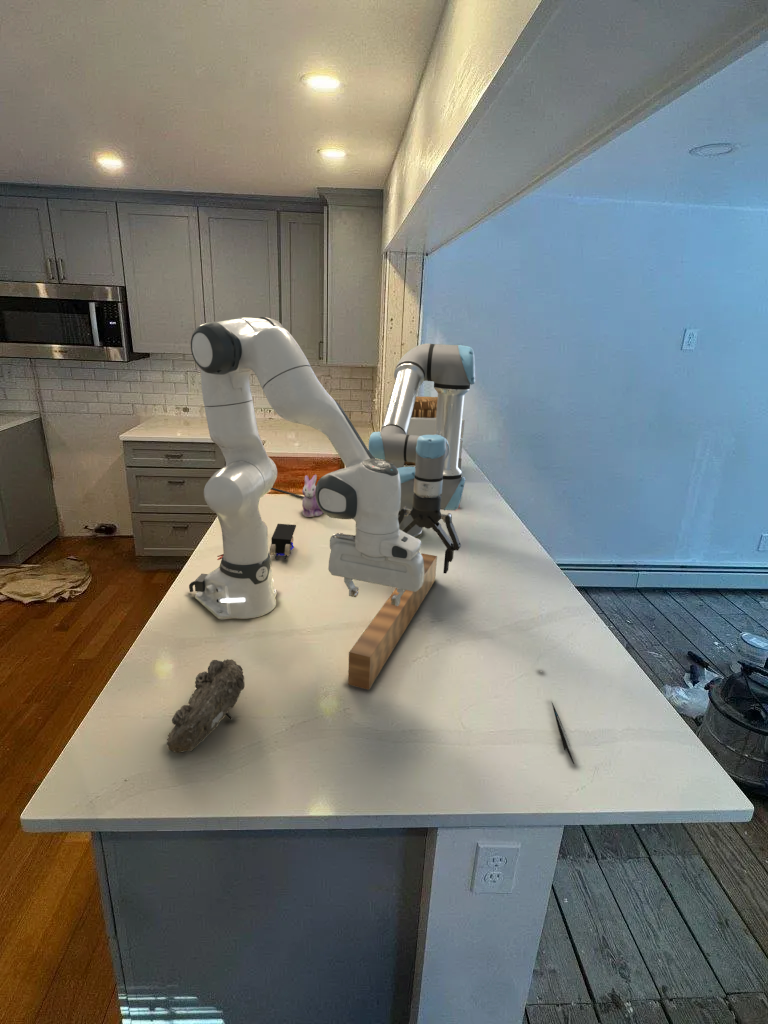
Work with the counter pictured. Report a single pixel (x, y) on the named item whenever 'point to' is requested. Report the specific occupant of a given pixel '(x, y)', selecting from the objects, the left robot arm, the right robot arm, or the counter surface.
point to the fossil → (206, 705)
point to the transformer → (425, 424)
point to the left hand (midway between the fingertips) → (374, 600)
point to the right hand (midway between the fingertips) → (421, 567)
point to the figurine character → (282, 540)
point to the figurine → (310, 498)
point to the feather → (562, 734)
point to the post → (387, 631)
